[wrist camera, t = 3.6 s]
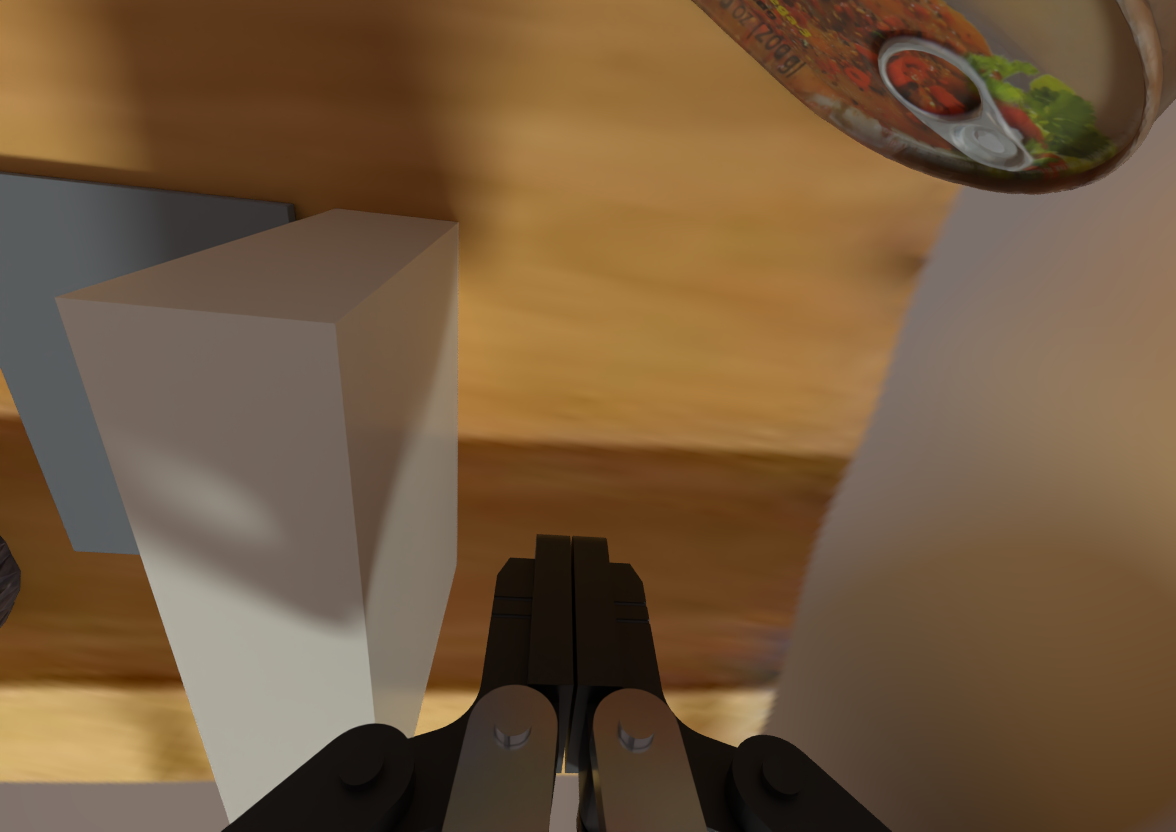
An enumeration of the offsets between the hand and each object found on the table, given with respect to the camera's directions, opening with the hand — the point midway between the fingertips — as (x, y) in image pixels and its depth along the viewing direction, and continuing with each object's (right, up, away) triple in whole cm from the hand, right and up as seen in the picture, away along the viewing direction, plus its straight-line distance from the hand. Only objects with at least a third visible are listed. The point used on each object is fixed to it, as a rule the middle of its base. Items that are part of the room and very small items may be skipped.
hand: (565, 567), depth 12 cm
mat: (-12, +4, +5) cm, 14 cm away
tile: (-5, +3, +5) cm, 8 cm away
